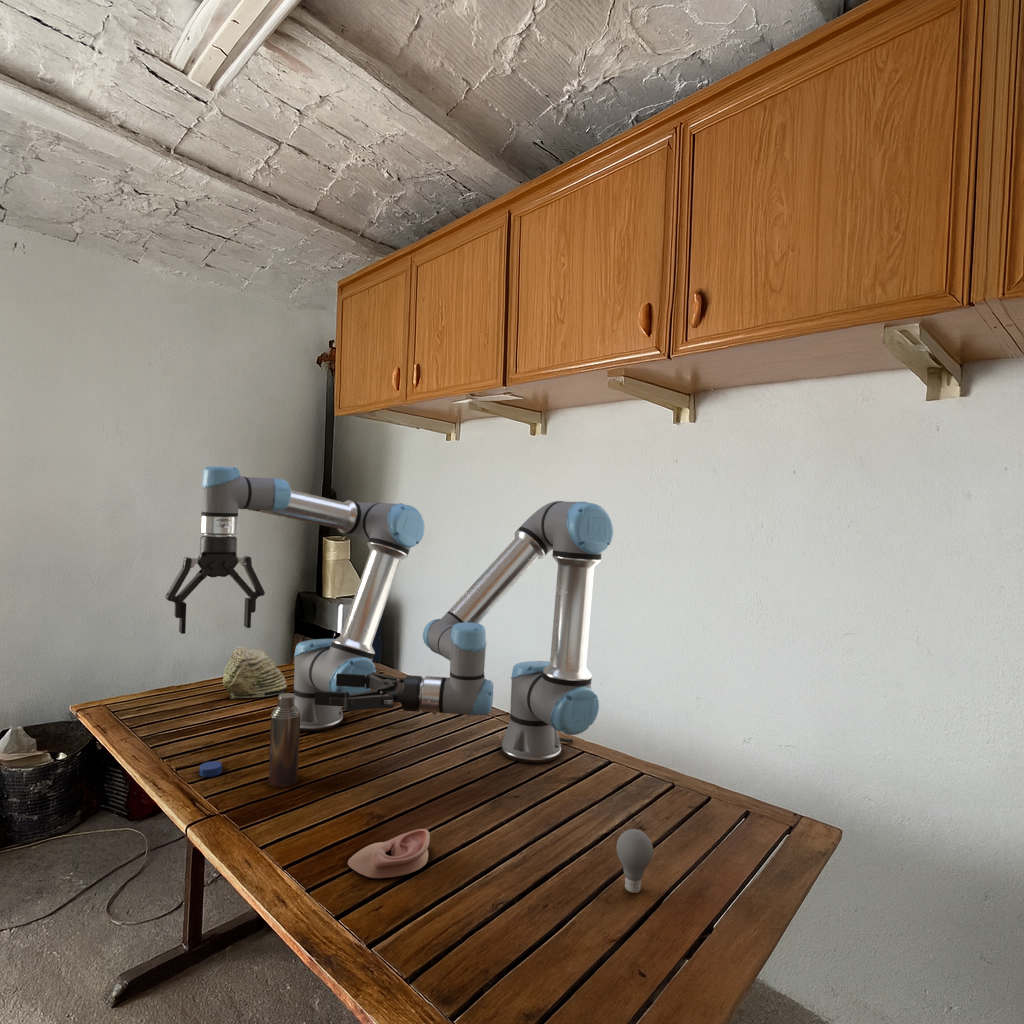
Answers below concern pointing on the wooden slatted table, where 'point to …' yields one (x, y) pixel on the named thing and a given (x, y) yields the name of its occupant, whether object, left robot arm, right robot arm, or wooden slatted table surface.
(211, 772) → the cap
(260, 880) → the wooden slatted table surface
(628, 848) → the light bulb
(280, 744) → the bottle
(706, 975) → the wooden slatted table surface
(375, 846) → the anatomical model
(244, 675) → the fossil
